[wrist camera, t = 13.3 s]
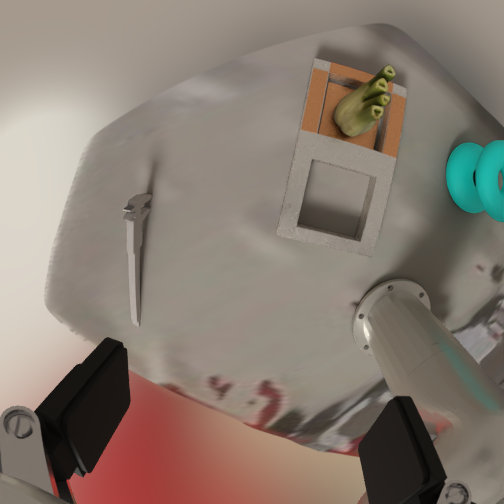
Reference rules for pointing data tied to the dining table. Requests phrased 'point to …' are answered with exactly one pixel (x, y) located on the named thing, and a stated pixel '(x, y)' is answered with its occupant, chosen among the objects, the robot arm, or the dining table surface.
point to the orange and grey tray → (342, 156)
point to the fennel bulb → (364, 104)
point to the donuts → (477, 178)
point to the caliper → (135, 248)
